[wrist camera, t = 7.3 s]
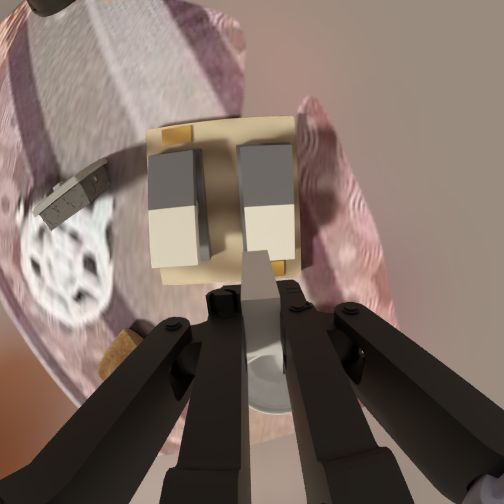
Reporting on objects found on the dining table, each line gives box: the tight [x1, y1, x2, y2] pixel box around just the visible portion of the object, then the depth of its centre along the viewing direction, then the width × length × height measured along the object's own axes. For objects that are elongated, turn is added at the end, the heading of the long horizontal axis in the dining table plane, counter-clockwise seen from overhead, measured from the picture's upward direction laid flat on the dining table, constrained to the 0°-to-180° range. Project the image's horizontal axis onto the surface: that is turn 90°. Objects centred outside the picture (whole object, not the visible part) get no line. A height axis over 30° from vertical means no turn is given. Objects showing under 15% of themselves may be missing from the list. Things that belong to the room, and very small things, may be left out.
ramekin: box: [247, 351, 292, 415], centre depth 37 cm, size 13×13×7 cm
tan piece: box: [98, 328, 144, 381], centre depth 34 cm, size 15×12×15 cm
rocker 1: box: [148, 150, 201, 268], centre depth 28 cm, size 12×5×2 cm, turn 4°
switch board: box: [145, 116, 301, 285], centre depth 32 cm, size 20×18×4 cm
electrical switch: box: [32, 157, 112, 231], centre depth 29 cm, size 9×5×9 cm, turn 113°
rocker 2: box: [240, 145, 295, 261], centre depth 28 cm, size 12×5×2 cm, turn 4°
